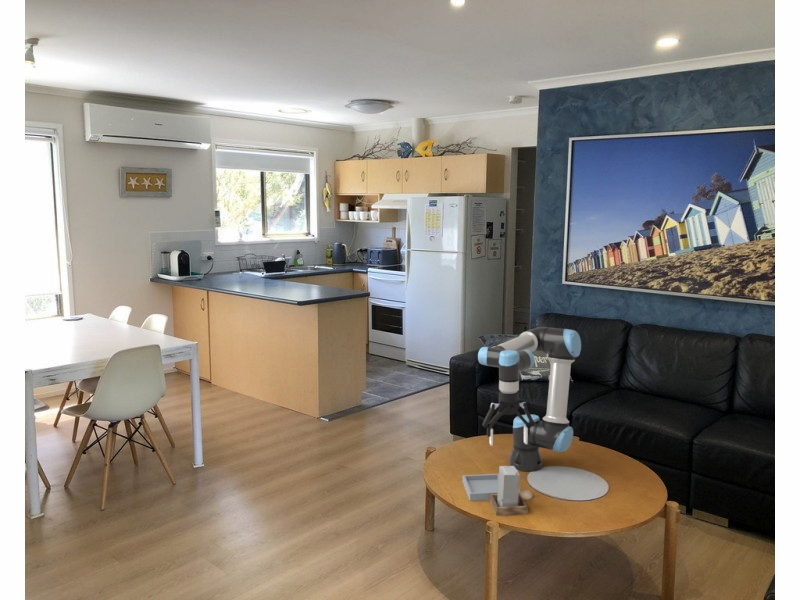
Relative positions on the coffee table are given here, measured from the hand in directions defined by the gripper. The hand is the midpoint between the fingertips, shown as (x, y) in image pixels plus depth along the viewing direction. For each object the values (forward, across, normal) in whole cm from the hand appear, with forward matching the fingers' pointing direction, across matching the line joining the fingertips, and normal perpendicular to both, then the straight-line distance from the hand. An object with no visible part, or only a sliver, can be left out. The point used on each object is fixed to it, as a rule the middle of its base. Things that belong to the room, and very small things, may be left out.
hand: (508, 443), depth 237 cm
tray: (+26, +6, -16) cm, 31 cm away
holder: (+26, 0, 0) cm, 26 cm away
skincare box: (+26, 0, 0) cm, 27 cm away
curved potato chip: (+26, -8, -10) cm, 29 cm away
